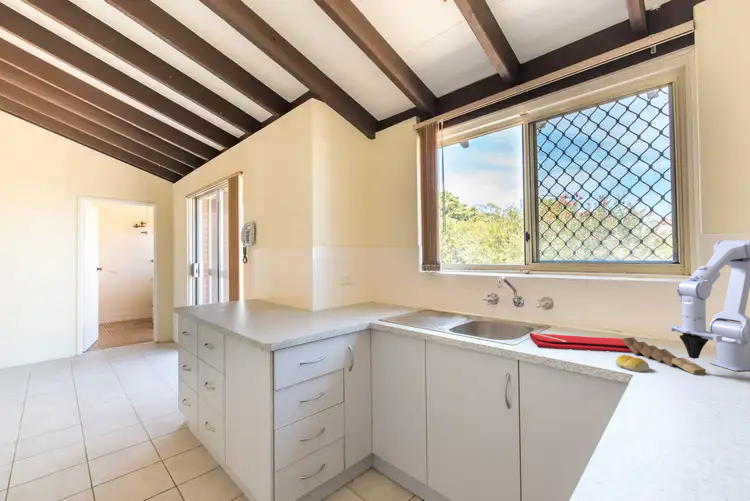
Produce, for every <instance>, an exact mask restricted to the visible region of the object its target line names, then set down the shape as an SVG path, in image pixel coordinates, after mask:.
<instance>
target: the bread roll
mask: <svg viewBox="0 0 750 501" xmlns="http://www.w3.org/2000/svg"><path fill="white" fill-rule="evenodd" d="M615 364H616V366H617V367H619V368H621V369H625V370H627V371H630V372H631V371H632V372H639V373H642V372H643V373H645V372H648V371H649V370H650V365H649V364H648V362H647V361H646V360H644V359H642V358H639V357H634V356H632V355H627V354H626V355H625V354H623V355H620V356H618V357H616V359H615Z"/></svg>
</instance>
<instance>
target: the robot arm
mask: <svg viewBox="0 0 750 501" xmlns="http://www.w3.org/2000/svg"><path fill="white" fill-rule="evenodd" d="M725 266H729V267H730V268H731V270H730V274H729V275H730V276H729V280H728V285H727V291H726V295H725V299H724V305H723V309H722V311H720V312H718V313H715V314H713V315H712V318H711V321H710V322H709V324H708V331H707V320H706V319H707V315H706V312H707V311H706V310H707V309H706V308H707V307H706V305H707V304H706V302H707V301H706V299H708V298H710V296H711V292H712V289H713V285H714V284H715V282H716V281H718V279H719V278H720V276H721V273H720V270H722V269H723V268H724V267H725ZM676 287H677V288H676V293H677V295H678V297H679V301H680V303H681V326H680V325H675V324H669V325H668V331H670V332H676V333H679V334H681V335H679V339H680V340H681V341H682V343H683V344H684V346H685V349H686V352H687V355H688V358H690V359H699V358H700V355H701V352H702V350H703V348H704V347H705V345H706V344H707V343H708V342H709V341H713V342H715V344H716V345H715V347H716V348H715V349H716V350H715V353H716V354H715V355H716V360H713V361H709V362H708V363H709V364H710V365H715V366H718V367H721V368H723V369H724V368H725V369H728V370H730V371H731V370H732V371H735V372H738V371H739V372H740V371H750V317H749V316H747V315H746V311H747V305H748V299H749V294H750V239H733V240H728V239H727V240H726V239H725V240H723V239H720V240H718V241H717V242H715V243H714V245H713V255H712V256H711V257H710V258H709V261H708V262H707V263H706V264H705V265H700V266H699V267H698V268H696V270H695V271H693V273H692V274H691V275H690V276H689V277H688V279H687V280H686V279H685V280H682V281H680V282H679V283H678V284H677V286H676Z"/></svg>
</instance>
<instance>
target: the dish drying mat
mask: <svg viewBox="0 0 750 501" xmlns="http://www.w3.org/2000/svg"><path fill="white" fill-rule="evenodd" d="M529 338H530V340H531V341H532V343H533V344H535V345H537V348H538V349H551V348H554V350H568V349H572V350H573V351H587V350H590V351H591V352H592V351H593V352H606V351H609V352H608V353H625V354H629V353H631V354H634V353H633V352H632V351H631V350H630V349H629V348H628V347H627V345H626V344H625V343H624V342H623V341H622V340H623V339H624V338H617V337H595V336H582V335H581V336H579V335H578V336H577V335H565V334H553V333H537V332H530V333H529Z"/></svg>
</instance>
